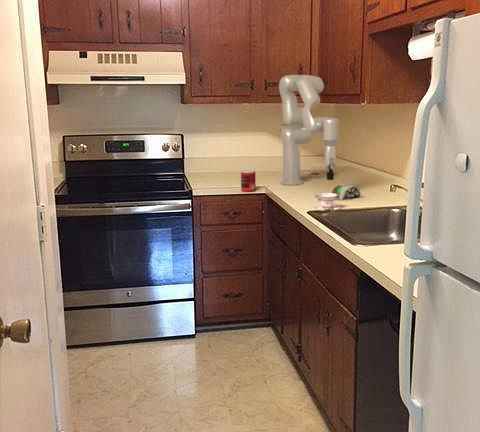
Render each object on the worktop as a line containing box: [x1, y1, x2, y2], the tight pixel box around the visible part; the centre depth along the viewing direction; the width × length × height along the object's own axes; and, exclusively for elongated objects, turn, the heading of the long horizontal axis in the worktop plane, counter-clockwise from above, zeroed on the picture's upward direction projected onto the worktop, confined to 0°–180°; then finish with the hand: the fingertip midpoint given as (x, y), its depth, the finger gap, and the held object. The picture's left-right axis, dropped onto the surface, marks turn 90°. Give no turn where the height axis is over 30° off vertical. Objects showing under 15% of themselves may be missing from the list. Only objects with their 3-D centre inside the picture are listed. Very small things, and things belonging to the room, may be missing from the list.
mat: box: [314, 194, 352, 201], centre depth 265 cm, size 12×16×1 cm
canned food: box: [240, 169, 257, 193], centre depth 287 cm, size 8×8×11 cm
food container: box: [331, 184, 362, 201], centre depth 265 cm, size 12×6×10 cm
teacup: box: [314, 192, 342, 211], centre depth 242 cm, size 12×12×6 cm
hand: (330, 179), depth 274 cm, fingers closed
